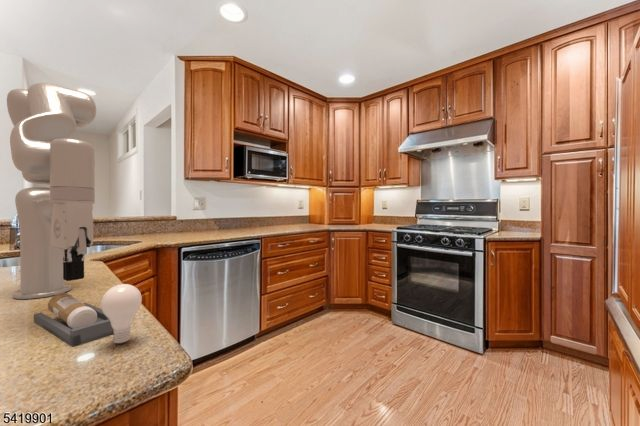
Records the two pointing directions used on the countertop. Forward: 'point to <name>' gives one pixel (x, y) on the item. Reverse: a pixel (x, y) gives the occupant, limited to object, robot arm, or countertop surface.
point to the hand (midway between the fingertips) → (73, 279)
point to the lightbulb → (121, 309)
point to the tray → (78, 334)
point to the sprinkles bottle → (72, 310)
